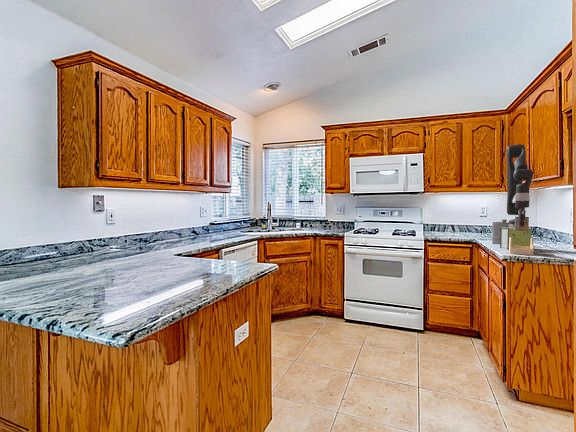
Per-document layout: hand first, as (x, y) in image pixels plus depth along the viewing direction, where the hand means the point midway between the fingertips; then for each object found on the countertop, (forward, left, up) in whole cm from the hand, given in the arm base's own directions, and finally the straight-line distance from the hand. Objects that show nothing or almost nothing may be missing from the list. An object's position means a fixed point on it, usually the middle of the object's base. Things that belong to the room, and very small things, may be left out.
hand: (521, 226), depth 214 cm
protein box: (-20, -2, -18) cm, 27 cm away
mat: (0, +13, -18) cm, 22 cm away
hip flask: (-49, -8, -18) cm, 53 cm away
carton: (0, 0, -18) cm, 18 cm away
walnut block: (0, 0, -3) cm, 3 cm away
